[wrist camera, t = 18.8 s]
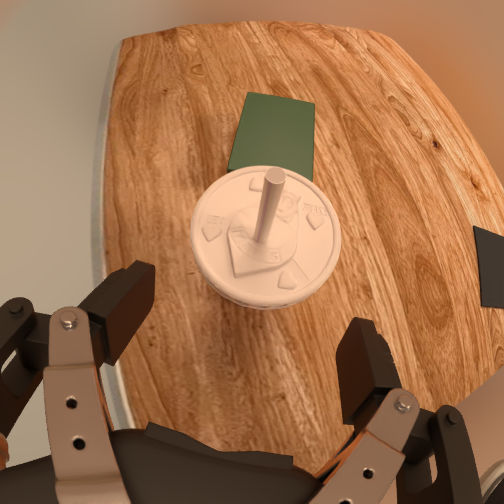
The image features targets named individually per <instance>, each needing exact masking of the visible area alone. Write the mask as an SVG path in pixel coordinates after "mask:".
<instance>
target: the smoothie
mask: <svg viewBox="0 0 504 504" xmlns="http://www.w3.org/2000/svg"><path fill="white" fill-rule="evenodd" d="M190 238H191V245H192V251H193V254H194V258H195V261H196V264H197V267H198V269H199V270H200V272H201V274H202V275H203V277H204V278H205V280H206V281H207V283H208V284H209V285H210V286H211V287H212V288H214V289H215V290H216V291H217V292H218V293H219V294H220V295H221V296H223V297H224V298H226V299H228V300H230V301H232V302H234V303H236V304H238V305H240V306H243V307H248V308H253V309H258V310H273V309H284V308H286V307H289V306H292V305H295V304H297V303H300V302H302V301H304V300H305V299H307V298H308V297H309V296H311V295H312V294H313V293H315V292H316V291H317V290H318V289H319V288H320V287H321V285H322V284H323V283H324V282H325V281H326V280H327V279H328V277H329V276H330V275H331V273H332V271H333V270H334V268H335V265H336V263H337V260H338V258H339V254H340V248H341V230H340V224H339V221H338V217H337V215H336V212H335V210H334V208H333V206H332V204H331V203H330V201H329V200H328V198H327V197H326V196H325V194H324V193H323V192H322V191H321V190H320V189H319V188H318V187H317V186H316V185H315V184H313V183H312V182H311V181H309V180H308V179H306V178H305V177H303V176H301V175H299V174H297V173H295V172H293V171H290V170H287V169H284V168H280V167H276V166H275V167H274V166H251V167H245V168H241V169H238V170H235V171H232V172H230V173H228V174H226V175H224V176H223V177H221V178H219V179H218V180H217V181H215V182H214V183H213V184H212V185H211V186H210V187H209V188H208V189H207V190H206V191H205V192H204V193H203V195H202V196H201V198H200V199H199V201H198V203H197V205H196V207H195V209H194V212H193V216H192V220H191V226H190Z"/></svg>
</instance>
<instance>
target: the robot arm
mask: <svg viewBox="0 0 504 504" xmlns="http://www.w3.org/2000/svg"><path fill="white" fill-rule="evenodd" d="M154 293H155V266H154V265H152V264H149V263H145V262H142V261H139V260H136V261H135V262H134V263H133V264H132V265H131V266H130V267H129V268H128V269H123V268H122V269H120V270H117V271H115V272H113V273H111V274H110V275H109V276H108V277H107V278H106V279H105V280H104V282H102V283H101V284H100V285H99V286H98V287H96V288H95V289H94V290H93V291H92V293H90V294H89V295H88V296H87V297H86V299H84V300H83V301H82V302H81V303H80V304H79V305H78V306H77V307H64V308H61V309H59V310H57V311H56V312H54V313H53V314H52V315H47V314H42V313H37V312H34V308H33V305H32V303H31V301H30V300H28V299H26V298H23V297H17V298H13V299H10V300H9V301H7V302H6V303H5V304H3V305H2V306H1V307H0V504H379V503H380V501H381V500H382V498H383V497H384V495H385V493H386V492H387V490H388V488H389V487H390V485H391V483H392V482H393V480H394V478H395V476H396V487H397V504H504V473H502V474H501V475H500V476H499V477H498V478H497V479H496V480H495V481H494V483H493V484H492V485H491V486H490V488H489V489H488V490H487V492H486V493H485V495H484V496H483V498H482V494H481V488H480V482H479V477H478V472H477V468H476V463H475V459H474V455H473V451H472V447H471V443H470V440H469V436H468V433H467V429H466V426H465V423H464V419H463V417H462V415H461V413H460V412H459V411H458V410H457V409H456V408H454V407H453V406H450V405H443V406H441V407H440V408H439V409H438V410H437V411H436V412H435V413H434V412H431V411H428V410H425V409H422V408H420V406H419V403H418V400H417V399H416V397H415V396H414V395H413V394H412V393H410V392H409V391H407V390H405V389H403V388H402V385H401V382H400V379H399V376H398V372H397V369H396V366H395V363H393V362H394V360H393V357H392V355H391V351H390V348H389V346H388V343H387V342H386V341H385V339H384V338H383V337H382V336H381V334H377V331H376V328H375V325H374V322H373V321H372V320H368V319H363V318H358V317H354V318H353V319H352V321H351V323H350V324H349V326H348V328H347V330H346V332H345V334H344V336H343V338H342V339H341V341H340V343H339V345H338V348H337V351H336V365H337V373H338V381H339V390H340V399H341V408H342V418H343V424H347V425H354V431H353V432H352V433H351V434H350V435H349V436H348V438H347V439H346V440H345V441H344V443H343V444H342V445H341V446H340V448H339V449H338V450H337V451H336V453H335V454H334V455H333V456H332V457H331V458H330V460H329V461H328V462H327V463H326V464H325V465H324V466H323V467H322V468H321V469H320V470H319V471H318V472H317V473H316V474H315V475H314V476H313V475H312V474H310V473H309V472H307V471H305V470H304V469H301V468H299V467H297V466H295V465H293V456H289V455H281V454H274V453H267V452H261V451H244V452H222V451H217V450H215V449H213V448H211V447H209V446H207V445H205V444H203V443H201V442H199V441H197V440H195V439H193V438H191V437H189V436H188V435H186V434H184V433H181V432H178V431H175V430H172V429H169V428H166V427H163V426H160V425H157V424H154V423H152V422H148V425H147V427H146V429H121V430H114V426H113V423H112V420H111V417H110V414H109V410H108V406H107V402H106V397H105V393H104V389H103V384H102V379H101V374H100V369H99V368H100V367H101V365H102V364H103V362H104V363H107V364H109V365H111V366H114V365H115V363H116V362H117V360H118V359H119V357H120V355H121V354H122V352H123V351H124V349H125V348H126V346H127V345H128V343H129V342H130V340H131V339H132V337H133V336H134V334H135V333H136V331H137V330H138V328H139V327H140V325H141V324H142V322H143V321H144V319H145V318H146V317H147V315H148V314H149V312H150V311H151V308H152V306H153V302H154ZM14 350H15V351H16V355H15V356H14V358H13V359H12V360H11V362H10V363H9V364H8V365H7V367H6V368H5V369H4V371H3V372H2V373H1V368H2V366H3V364H4V362H5V361H6V360H7V359H8V357H9V356H10V355H11V354H12V352H13V351H14ZM42 379H43V384H44V402H45V413H46V423H47V431H48V437H49V443H50V450H51V455H48V456H45V457H42V458H39V459H36V460H33V461H30V462H26V463H23V464H19V465H16V466H12V467H8V468H6V463H7V462H8V461H9V453H8V443H7V440H6V438H7V437H8V435H9V433H10V431H11V429H12V428H13V426H14V424H15V423H16V421H17V419H18V417H19V416H20V414H21V412H22V411H23V409H24V407H25V406H26V404H27V403H28V401H29V399H30V398H31V396H32V395H33V393H34V391H35V390H36V388H37V387H38V385H39V384H40V382H41V381H42ZM433 454H435V460H436V466H437V478H436V480H435V481H434V483H433V484H432V477H431V470H430V463H429V458H430V457H431V456H432V455H433Z"/></svg>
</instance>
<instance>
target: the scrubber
mask: <svg viewBox="0 0 504 504" xmlns="http://www.w3.org/2000/svg"><path fill="white" fill-rule="evenodd" d="M314 122H315V104H314V103H310V102H305V101H300V100H295V99H290V98H285V97H279V96H273V95H267V94H260V93H253V92H248V93H247V96H246V100H245V103H244V107H243V110H242V114H241V118H240V121H239V125H238V129H237V132H236V136H235V140H234V144H233V148H232V151H231V155H230V159H229V163H228V167H227V174H228V173H230V172H232V171H235V170H238V169H241V168H245V167H251V166H274V167H275V166H276V167H280V168H284V169H287V170H290V171H293V172H295V173H297V174H299V175H301V176H303V177H305V178H306V179H308V180H309V181H311V182H313V159H314Z"/></svg>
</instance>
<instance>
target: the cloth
mask: <svg viewBox="0 0 504 504" xmlns="http://www.w3.org/2000/svg"><path fill="white" fill-rule="evenodd" d="M473 229H474V235H475V241H476V248H477V256H478V265H479V276H480V291H481V306H485V307H495V308H504V237H503V236H500V235H498V234H495V233H493V232H490V231H487V230H485V229H482V228H479V227H477V226H473Z"/></svg>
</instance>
